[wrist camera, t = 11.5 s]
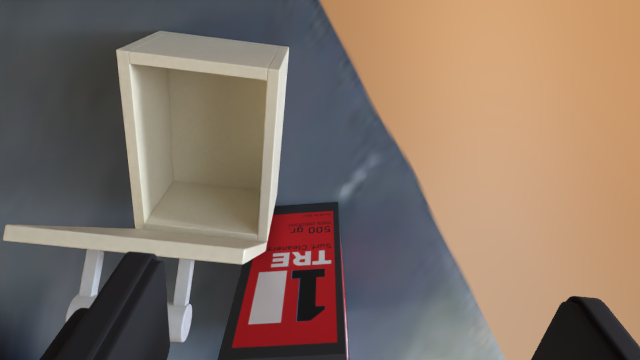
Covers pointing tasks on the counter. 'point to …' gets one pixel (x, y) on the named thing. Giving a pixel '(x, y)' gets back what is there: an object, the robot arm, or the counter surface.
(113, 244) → the cool box door
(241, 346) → the cleaning product box
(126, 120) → the cool box
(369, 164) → the counter surface
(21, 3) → the counter surface
